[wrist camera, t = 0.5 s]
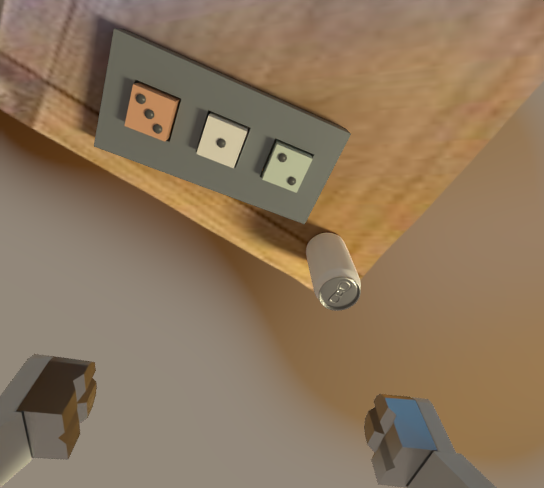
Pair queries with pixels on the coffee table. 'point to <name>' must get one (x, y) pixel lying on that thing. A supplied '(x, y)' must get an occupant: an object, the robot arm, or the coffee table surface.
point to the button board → (192, 119)
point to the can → (332, 272)
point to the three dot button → (152, 111)
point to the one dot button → (222, 139)
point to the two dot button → (286, 166)
